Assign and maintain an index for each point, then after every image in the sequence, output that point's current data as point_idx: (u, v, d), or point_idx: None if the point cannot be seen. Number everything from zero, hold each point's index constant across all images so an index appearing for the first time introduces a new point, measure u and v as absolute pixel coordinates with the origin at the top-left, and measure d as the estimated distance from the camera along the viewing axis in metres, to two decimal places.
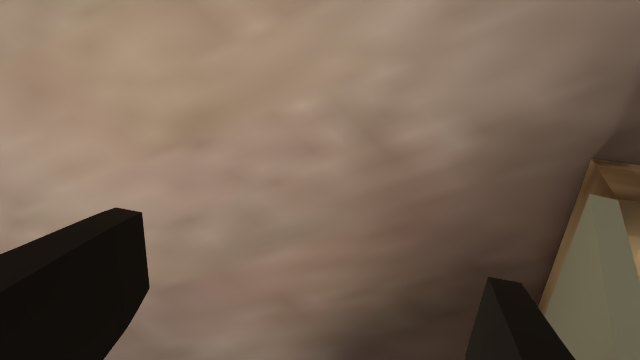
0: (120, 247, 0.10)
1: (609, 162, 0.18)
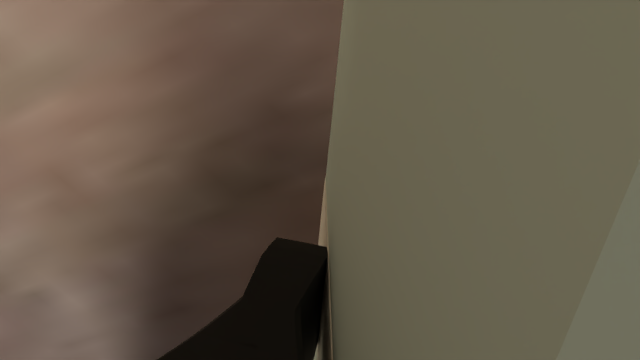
0: (320, 286, 0.09)
1: None
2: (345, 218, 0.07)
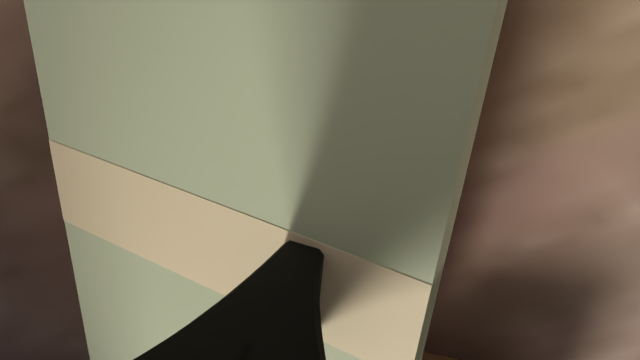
0: None
1: None
2: (206, 110, 0.10)
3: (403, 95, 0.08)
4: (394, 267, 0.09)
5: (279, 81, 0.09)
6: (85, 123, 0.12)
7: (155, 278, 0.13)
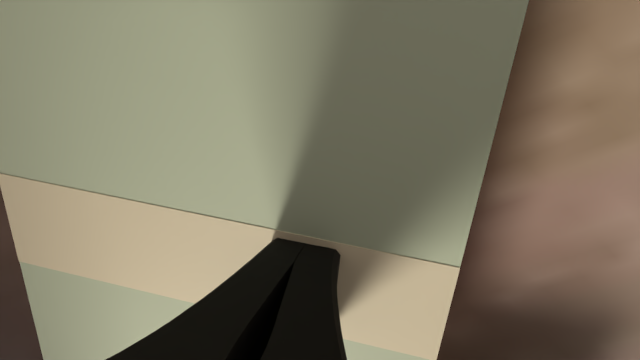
0: None
1: None
2: (210, 124, 0.09)
3: (434, 93, 0.08)
4: (422, 256, 0.09)
5: (298, 88, 0.09)
6: (50, 150, 0.10)
7: (144, 307, 0.12)
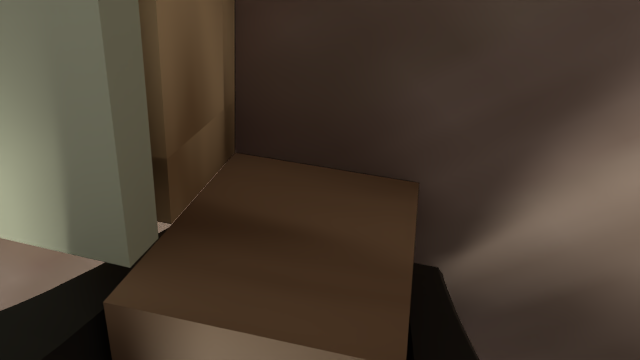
0: None
1: None
2: None
3: None
4: None
5: None
6: None
7: None
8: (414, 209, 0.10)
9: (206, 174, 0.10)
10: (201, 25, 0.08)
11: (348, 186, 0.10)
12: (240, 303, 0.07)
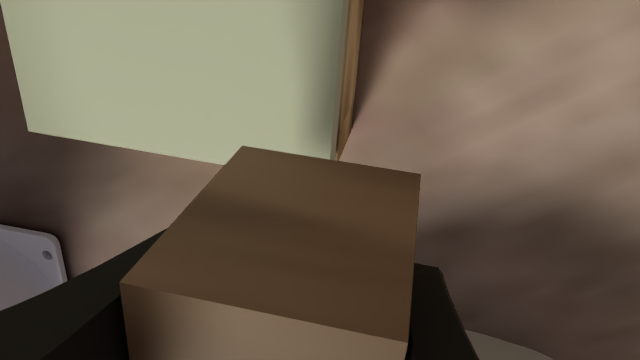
0: None
1: None
2: None
3: None
4: None
5: None
6: None
7: None
8: (416, 198, 0.10)
9: (344, 141, 0.17)
10: (352, 58, 0.16)
11: (352, 177, 0.10)
12: (249, 283, 0.07)
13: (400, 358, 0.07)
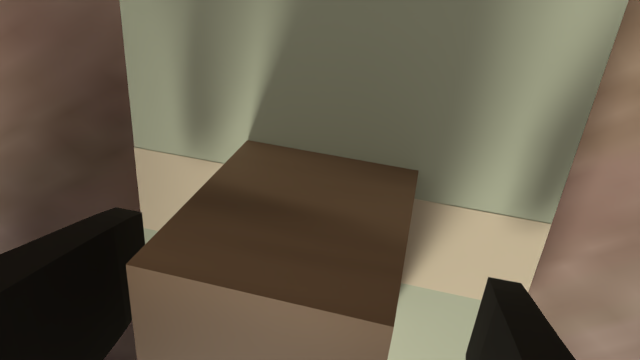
0: (120, 247, 0.10)
1: None
2: (339, 101, 0.11)
3: (541, 72, 0.10)
4: (518, 215, 0.11)
5: (422, 69, 0.10)
6: (187, 126, 0.12)
7: None
8: (412, 193, 0.10)
9: None
10: None
11: (351, 172, 0.11)
12: (247, 268, 0.08)
13: (387, 341, 0.07)
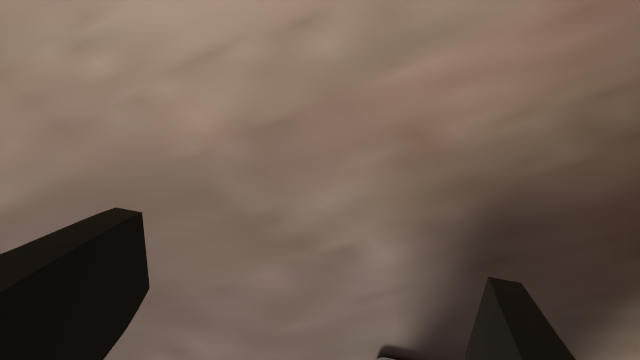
0: (120, 247, 0.10)
1: None
2: None
3: None
4: None
5: None
6: None
7: None
8: None
9: None
10: None
11: None
12: None
13: None
